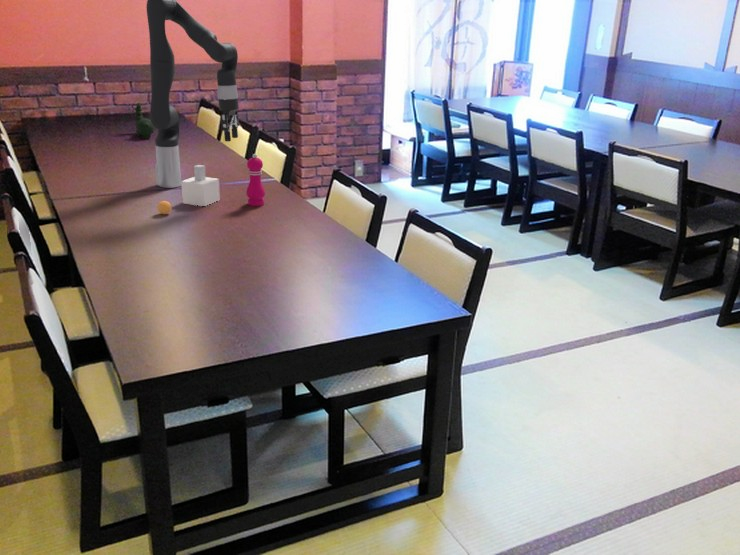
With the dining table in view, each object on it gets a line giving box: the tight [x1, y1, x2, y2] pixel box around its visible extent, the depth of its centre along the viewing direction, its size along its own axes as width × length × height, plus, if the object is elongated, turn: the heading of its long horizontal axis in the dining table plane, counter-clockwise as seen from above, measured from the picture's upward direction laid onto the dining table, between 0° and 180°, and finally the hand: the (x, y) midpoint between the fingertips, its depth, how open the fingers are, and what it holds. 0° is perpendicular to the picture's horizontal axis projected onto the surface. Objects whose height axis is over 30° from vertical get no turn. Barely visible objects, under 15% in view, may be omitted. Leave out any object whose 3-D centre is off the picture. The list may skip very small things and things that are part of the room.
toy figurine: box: [134, 102, 155, 140], centre depth 381 cm, size 9×19×25 cm
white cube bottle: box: [181, 164, 221, 207], centre depth 267 cm, size 10×10×14 cm
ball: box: [156, 200, 172, 215], centre depth 252 cm, size 5×5×5 cm
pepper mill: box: [246, 153, 266, 207], centre depth 266 cm, size 7×7×20 cm
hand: (231, 139), depth 270 cm, fingers open, 8 cm apart
